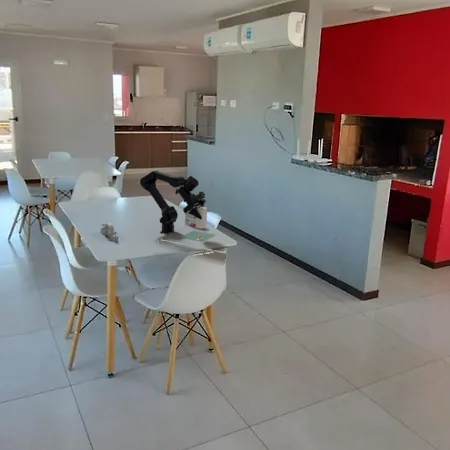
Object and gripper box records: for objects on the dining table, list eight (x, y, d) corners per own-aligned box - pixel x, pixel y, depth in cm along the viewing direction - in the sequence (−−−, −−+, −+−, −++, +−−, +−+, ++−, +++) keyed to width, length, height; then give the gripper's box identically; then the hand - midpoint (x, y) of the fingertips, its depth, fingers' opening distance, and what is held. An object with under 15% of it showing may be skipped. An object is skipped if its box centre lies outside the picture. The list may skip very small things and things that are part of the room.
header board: (179, 238, 265) (179, 233, 264) (193, 232, 280) (193, 227, 279) (203, 243, 259) (203, 238, 258) (215, 236, 274) (216, 231, 273)
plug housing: (195, 227, 261) (196, 208, 258) (200, 225, 266) (201, 206, 263) (201, 228, 259) (202, 209, 256) (206, 226, 264) (207, 207, 262)
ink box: (199, 226, 293) (200, 208, 290) (194, 228, 289) (195, 209, 286) (189, 223, 297) (190, 206, 294) (184, 225, 294) (185, 207, 290)
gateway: (100, 232, 268) (100, 219, 266) (104, 232, 269) (104, 219, 267) (113, 242, 253) (114, 228, 251) (118, 241, 254) (118, 227, 252)
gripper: (189, 189, 250) (206, 212, 249) (203, 184, 266) (220, 206, 265) (175, 201, 255) (192, 224, 254) (190, 196, 271) (207, 217, 270)
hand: (203, 217), depth 261 cm, fingers closed on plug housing, 6 cm apart
